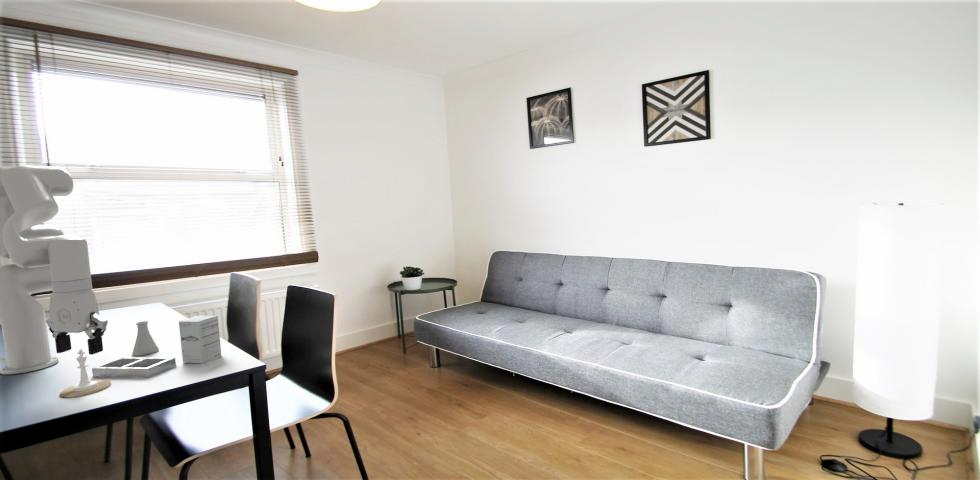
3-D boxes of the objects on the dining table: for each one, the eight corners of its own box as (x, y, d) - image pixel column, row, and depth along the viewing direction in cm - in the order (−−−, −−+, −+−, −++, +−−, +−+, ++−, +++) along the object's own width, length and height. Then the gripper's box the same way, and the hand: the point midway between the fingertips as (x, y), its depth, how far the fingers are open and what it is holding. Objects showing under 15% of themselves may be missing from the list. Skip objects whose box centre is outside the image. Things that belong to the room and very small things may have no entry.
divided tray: (92, 376, 131) (91, 368, 131) (123, 365, 140) (122, 357, 140) (148, 377, 128) (147, 368, 128) (176, 365, 137) (175, 357, 137)
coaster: (49, 397, 117) (48, 395, 117) (89, 381, 127) (89, 379, 127) (82, 398, 116) (82, 396, 115) (121, 382, 125) (120, 380, 125)
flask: (155, 347, 157) (151, 318, 156) (162, 351, 152) (158, 321, 151) (128, 354, 151) (124, 323, 150) (135, 357, 147) (131, 326, 146)
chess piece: (83, 391, 118) (78, 352, 118) (67, 391, 119) (62, 352, 119) (102, 384, 123) (98, 346, 122) (87, 383, 124) (82, 346, 123)
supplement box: (181, 363, 139) (177, 321, 138) (202, 354, 146) (198, 314, 145) (202, 364, 137) (198, 321, 136) (222, 355, 144) (218, 314, 143)
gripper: (27, 289, 117) (35, 356, 119) (86, 289, 114) (94, 358, 116) (59, 283, 124) (67, 346, 126) (115, 283, 121) (122, 348, 123)
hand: (80, 352), depth 121 cm, fingers open, 9 cm apart
